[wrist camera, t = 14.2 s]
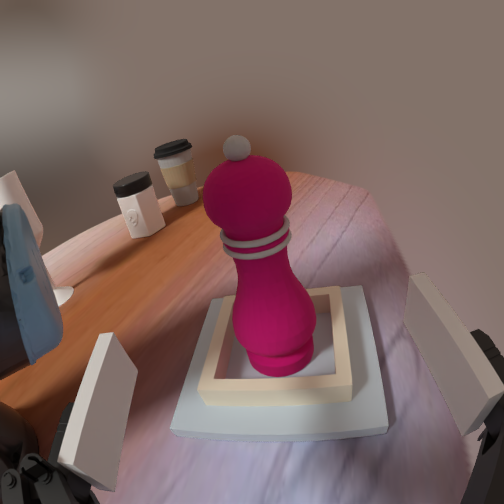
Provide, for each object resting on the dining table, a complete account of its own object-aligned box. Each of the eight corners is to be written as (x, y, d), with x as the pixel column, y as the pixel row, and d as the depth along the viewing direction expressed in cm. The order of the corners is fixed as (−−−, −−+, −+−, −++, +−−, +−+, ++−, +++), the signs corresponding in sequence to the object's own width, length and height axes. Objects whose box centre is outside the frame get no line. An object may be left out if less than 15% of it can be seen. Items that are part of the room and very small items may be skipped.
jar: (123, 241, 65) (104, 190, 59) (138, 223, 72) (122, 176, 66) (159, 235, 63) (140, 180, 57) (172, 217, 70) (156, 167, 64)
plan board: (176, 436, 24) (157, 414, 22) (215, 307, 40) (206, 282, 38) (386, 433, 21) (393, 410, 19) (361, 295, 36) (361, 267, 34)
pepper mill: (237, 339, 32) (177, 143, 22) (302, 317, 33) (270, 120, 23) (254, 392, 26) (180, 161, 16) (331, 365, 27) (309, 129, 17)
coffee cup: (201, 190, 82) (186, 136, 75) (209, 200, 74) (193, 139, 67) (167, 202, 80) (150, 148, 73) (172, 213, 72) (153, 152, 65)
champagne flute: (68, 304, 47) (7, 174, 35) (40, 312, 47) (-21, 190, 35) (77, 282, 53) (25, 164, 41) (51, 291, 52) (-1, 178, 40)
